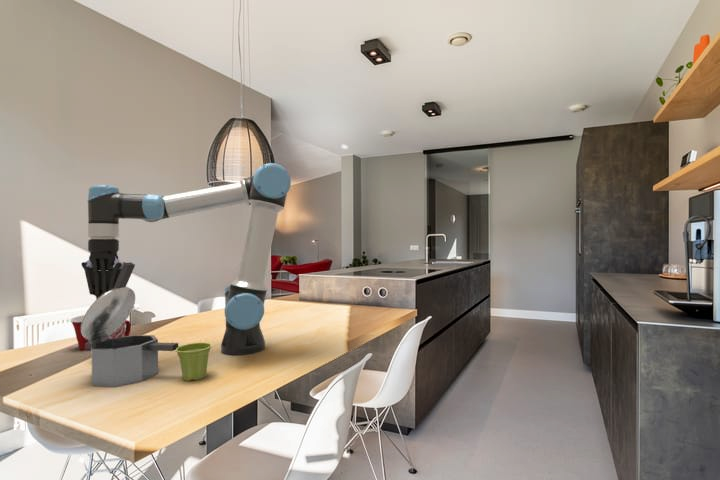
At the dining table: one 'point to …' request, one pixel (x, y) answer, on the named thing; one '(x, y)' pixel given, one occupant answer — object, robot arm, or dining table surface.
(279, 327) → the dining table surface
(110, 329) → the lid
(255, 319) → the robot arm
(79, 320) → the plastic cup
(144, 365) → the cooker pot
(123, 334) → the mug
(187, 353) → the plant pot
